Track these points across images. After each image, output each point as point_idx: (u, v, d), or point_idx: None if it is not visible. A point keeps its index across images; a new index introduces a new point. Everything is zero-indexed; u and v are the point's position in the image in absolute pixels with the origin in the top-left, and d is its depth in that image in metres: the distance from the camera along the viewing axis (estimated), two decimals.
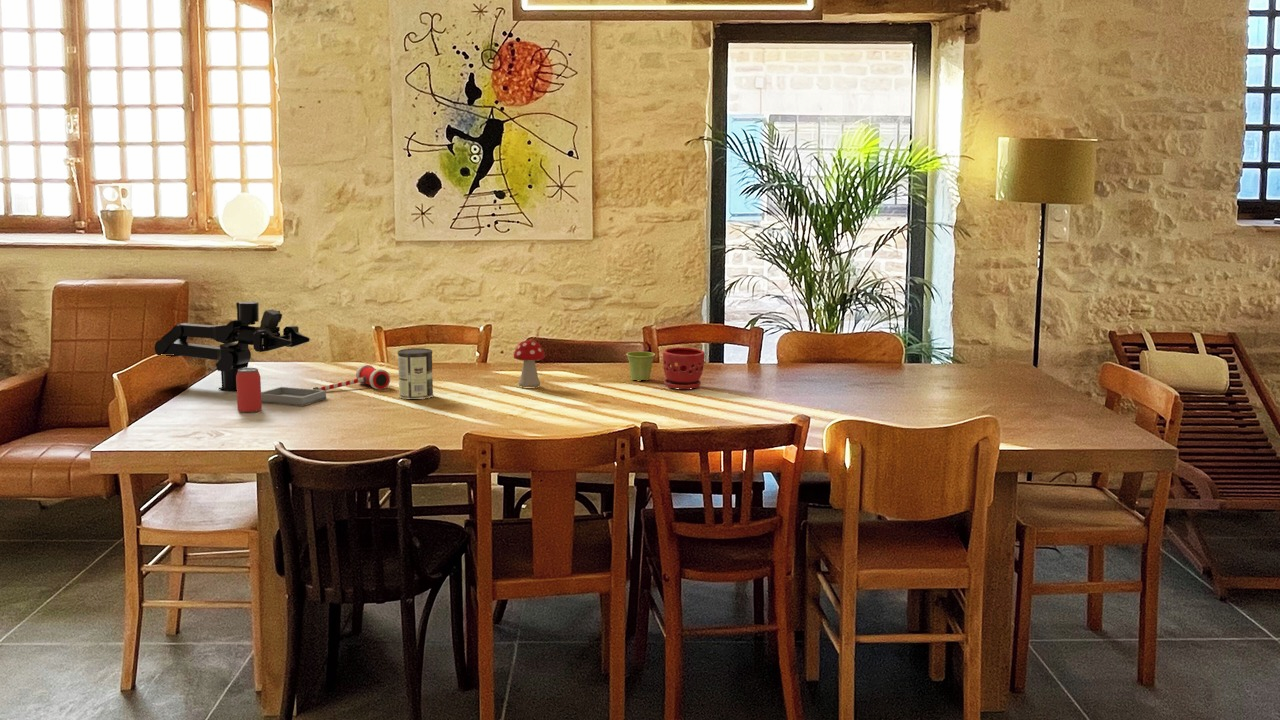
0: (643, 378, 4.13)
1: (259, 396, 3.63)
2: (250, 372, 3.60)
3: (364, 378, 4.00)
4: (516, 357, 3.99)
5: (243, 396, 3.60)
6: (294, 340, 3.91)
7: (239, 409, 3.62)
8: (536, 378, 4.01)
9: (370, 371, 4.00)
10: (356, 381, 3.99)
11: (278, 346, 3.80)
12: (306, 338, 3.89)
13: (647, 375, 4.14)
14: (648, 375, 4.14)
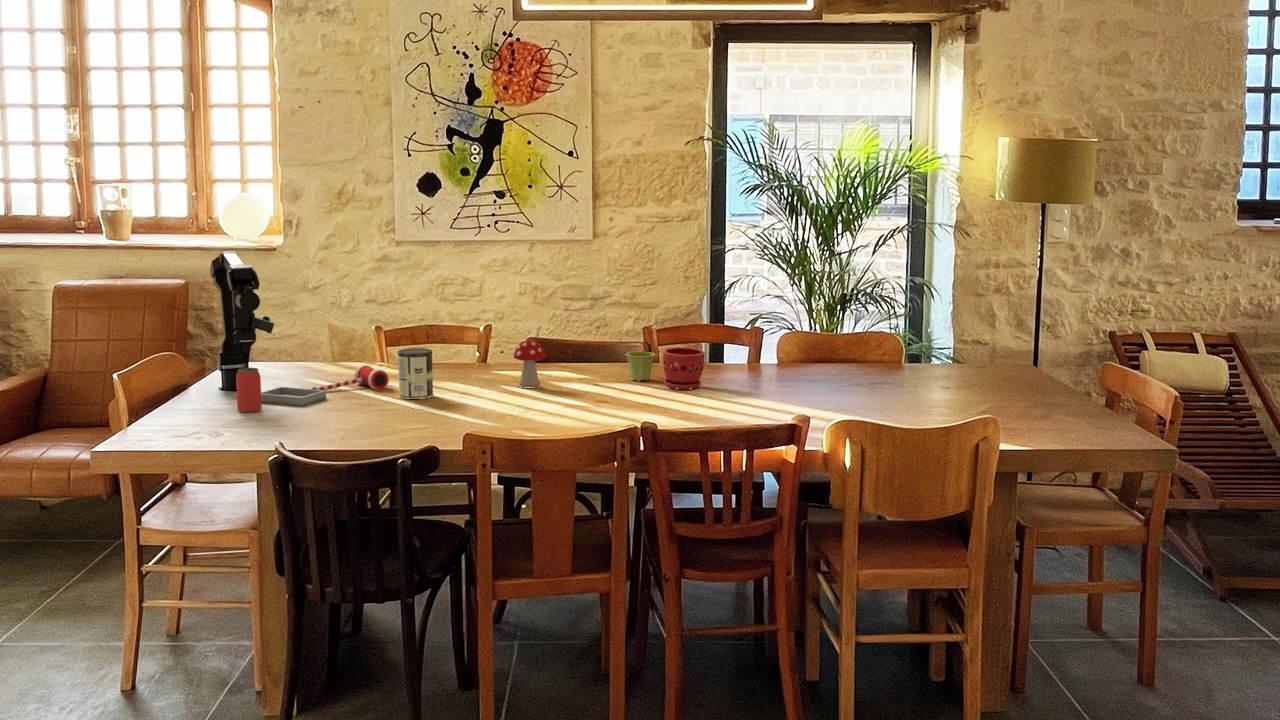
0: (643, 378, 4.13)
1: (259, 396, 3.63)
2: (250, 372, 3.60)
3: (363, 378, 4.00)
4: (516, 357, 3.99)
5: (243, 396, 3.60)
6: None
7: (239, 409, 3.62)
8: (536, 378, 4.01)
9: (369, 371, 4.00)
10: (355, 382, 3.98)
11: (240, 353, 3.69)
12: None
13: (647, 375, 4.14)
14: (648, 375, 4.14)
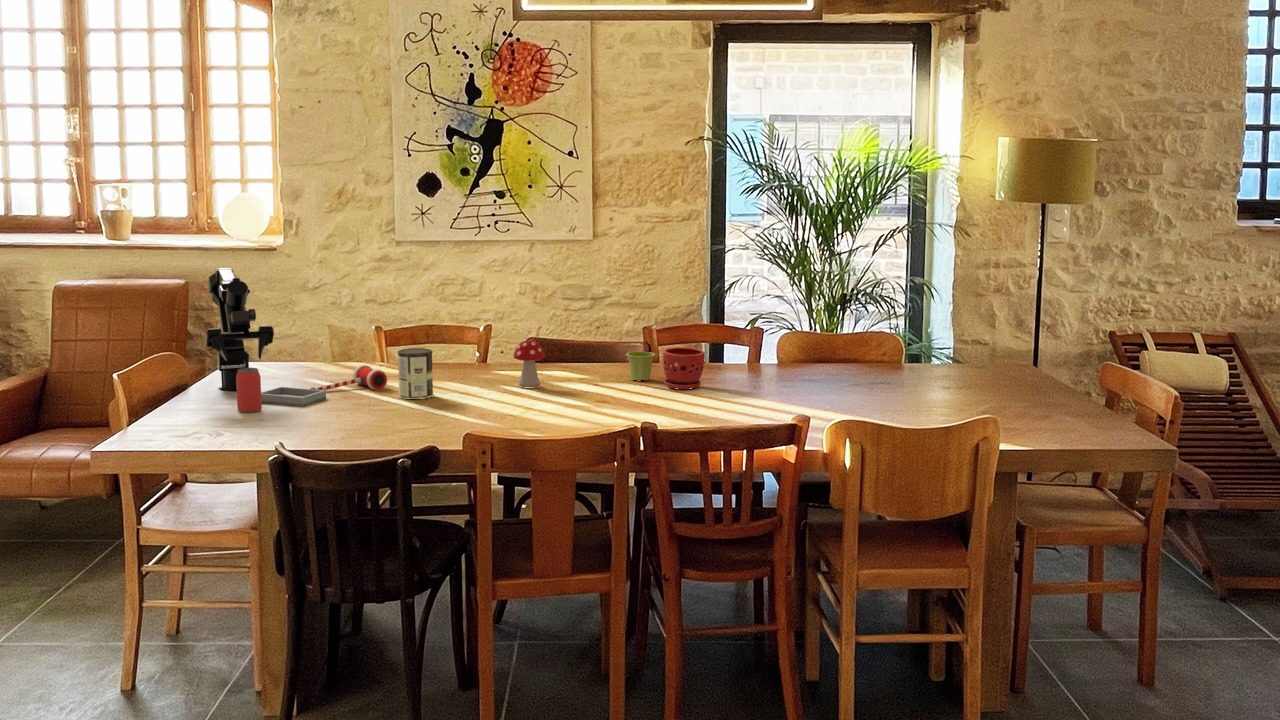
0: (643, 378, 4.13)
1: (259, 396, 3.63)
2: (250, 372, 3.60)
3: (361, 378, 3.99)
4: (516, 357, 3.99)
5: (244, 396, 3.60)
6: (258, 344, 3.75)
7: (239, 409, 3.62)
8: (536, 378, 4.01)
9: (367, 371, 3.99)
10: (354, 382, 3.98)
11: (221, 353, 3.70)
12: (259, 355, 3.72)
13: (647, 375, 4.14)
14: (648, 375, 4.14)
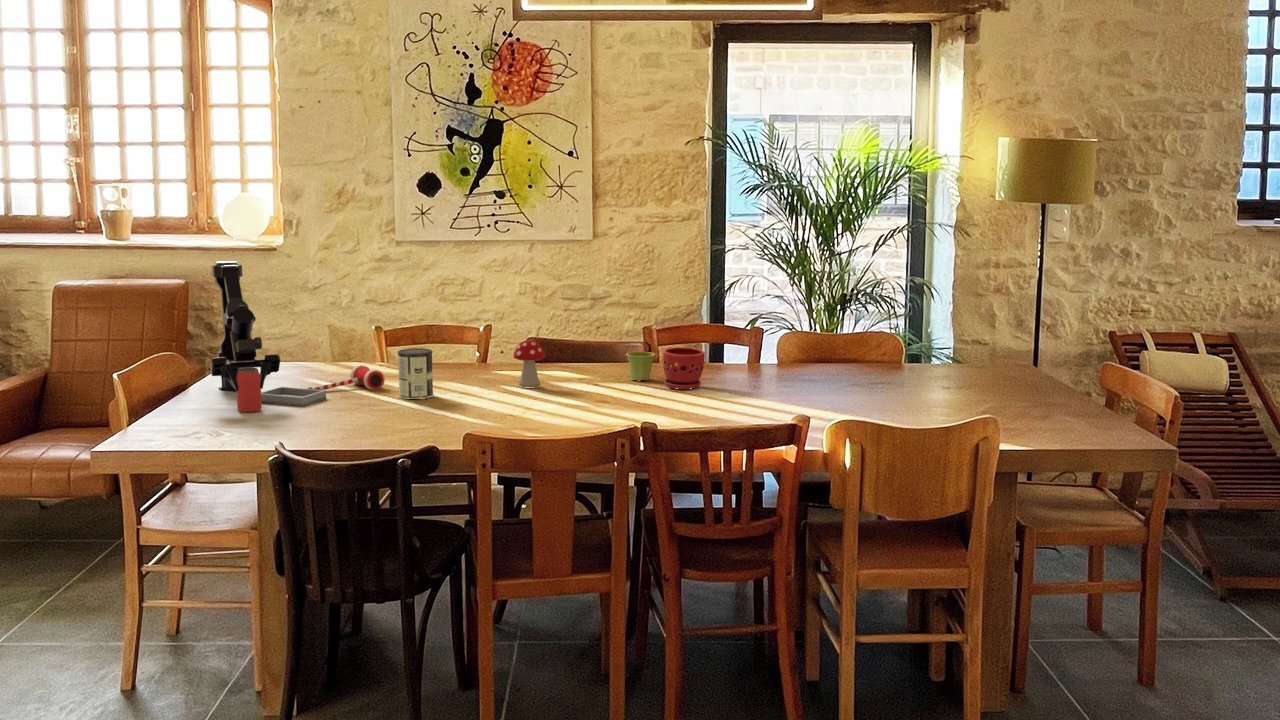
0: (643, 378, 4.13)
1: (259, 396, 3.63)
2: (250, 372, 3.60)
3: (358, 378, 3.99)
4: (516, 357, 3.99)
5: (243, 396, 3.60)
6: (260, 373, 3.67)
7: (239, 409, 3.62)
8: (536, 378, 4.01)
9: (364, 371, 3.99)
10: (351, 382, 3.98)
11: (230, 383, 3.63)
12: (261, 385, 3.64)
13: (647, 375, 4.14)
14: (648, 375, 4.14)
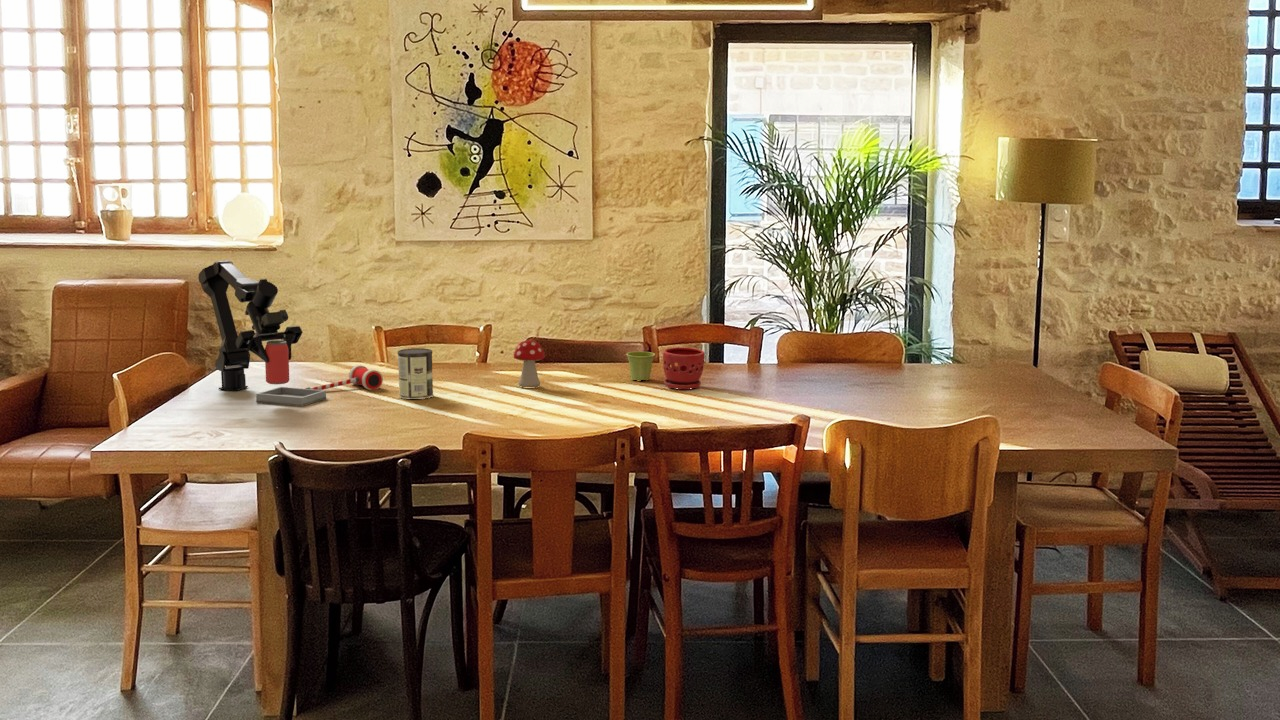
0: (643, 378, 4.13)
1: (288, 367, 3.72)
2: (281, 344, 3.69)
3: (357, 379, 3.99)
4: (516, 357, 3.99)
5: (275, 368, 3.69)
6: None
7: (270, 381, 3.69)
8: (536, 378, 4.01)
9: (363, 372, 3.99)
10: (349, 382, 3.97)
11: (258, 355, 3.70)
12: (289, 356, 3.73)
13: (647, 375, 4.14)
14: (648, 375, 4.14)
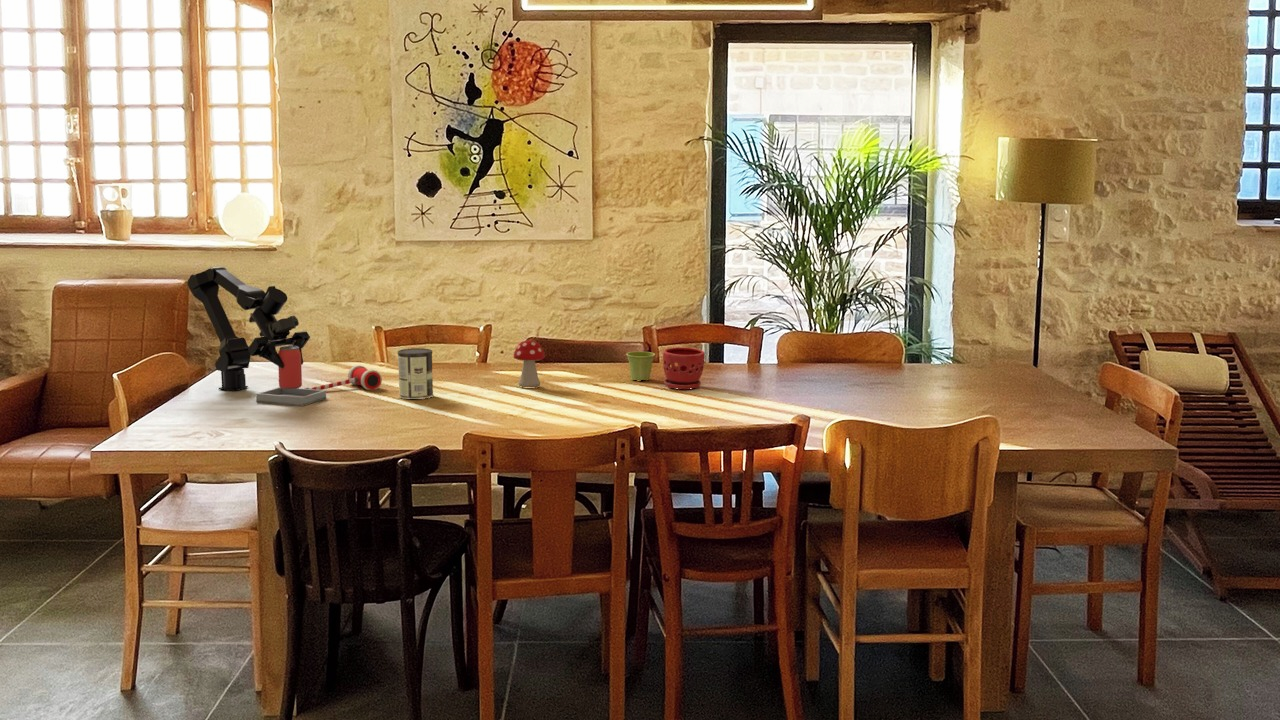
0: (643, 378, 4.13)
1: (301, 372, 3.79)
2: (296, 349, 3.75)
3: (356, 379, 3.99)
4: (516, 357, 3.99)
5: (290, 373, 3.75)
6: None
7: (285, 386, 3.76)
8: (536, 378, 4.01)
9: (362, 372, 3.99)
10: (348, 382, 3.97)
11: (272, 361, 3.75)
12: None
13: (647, 375, 4.14)
14: (648, 375, 4.14)
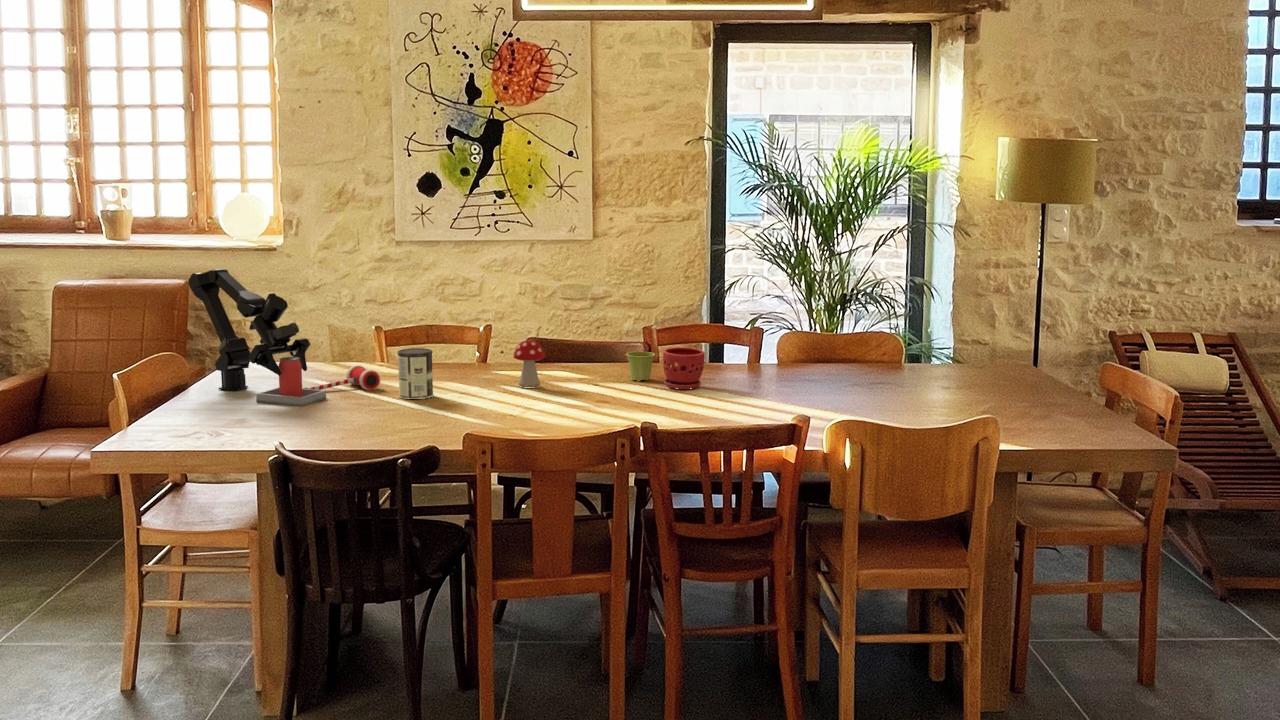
0: (643, 378, 4.13)
1: None
2: (296, 360, 3.76)
3: (354, 379, 3.98)
4: (516, 357, 3.99)
5: (291, 384, 3.76)
6: None
7: None
8: (536, 378, 4.01)
9: (360, 372, 3.98)
10: (346, 382, 3.97)
11: (269, 369, 3.74)
12: (304, 367, 3.81)
13: (647, 375, 4.14)
14: (648, 375, 4.14)
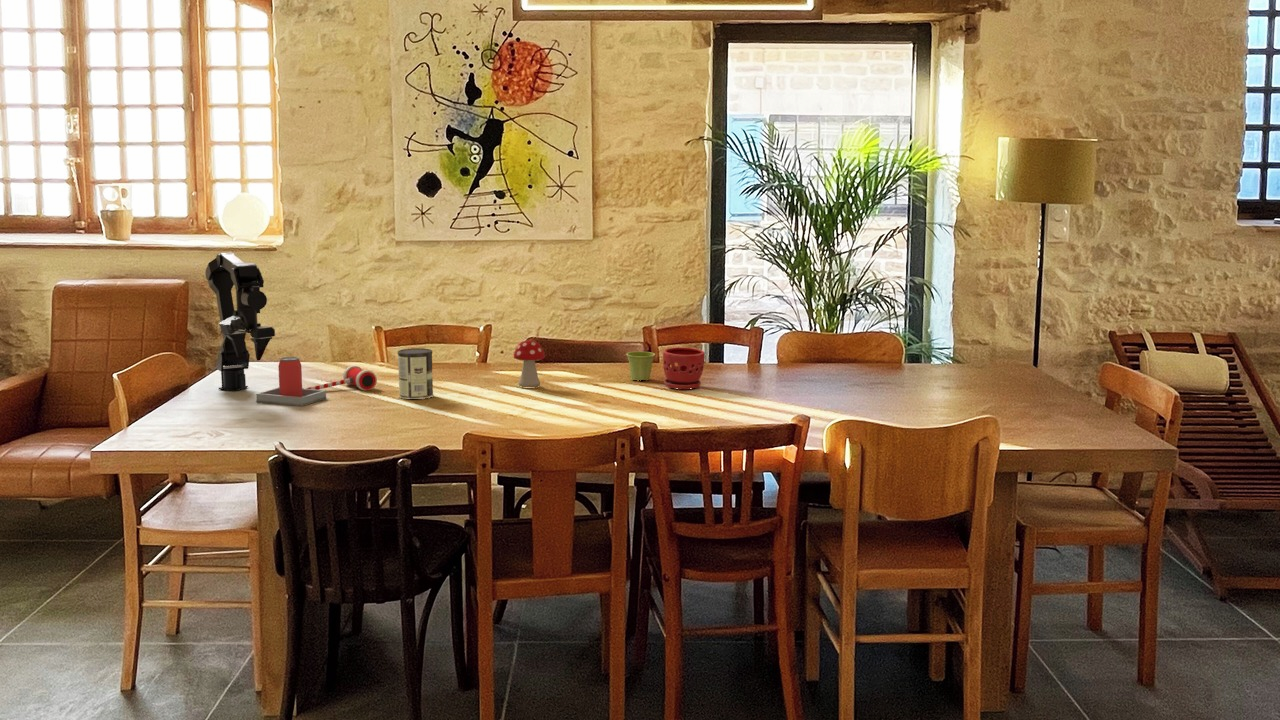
0: (643, 378, 4.13)
1: (301, 383, 3.79)
2: (296, 360, 3.76)
3: (351, 379, 3.98)
4: (516, 357, 3.99)
5: (291, 384, 3.76)
6: None
7: None
8: (536, 378, 4.01)
9: (357, 372, 3.98)
10: (343, 382, 3.97)
11: None
12: None
13: (647, 375, 4.14)
14: (648, 375, 4.14)
